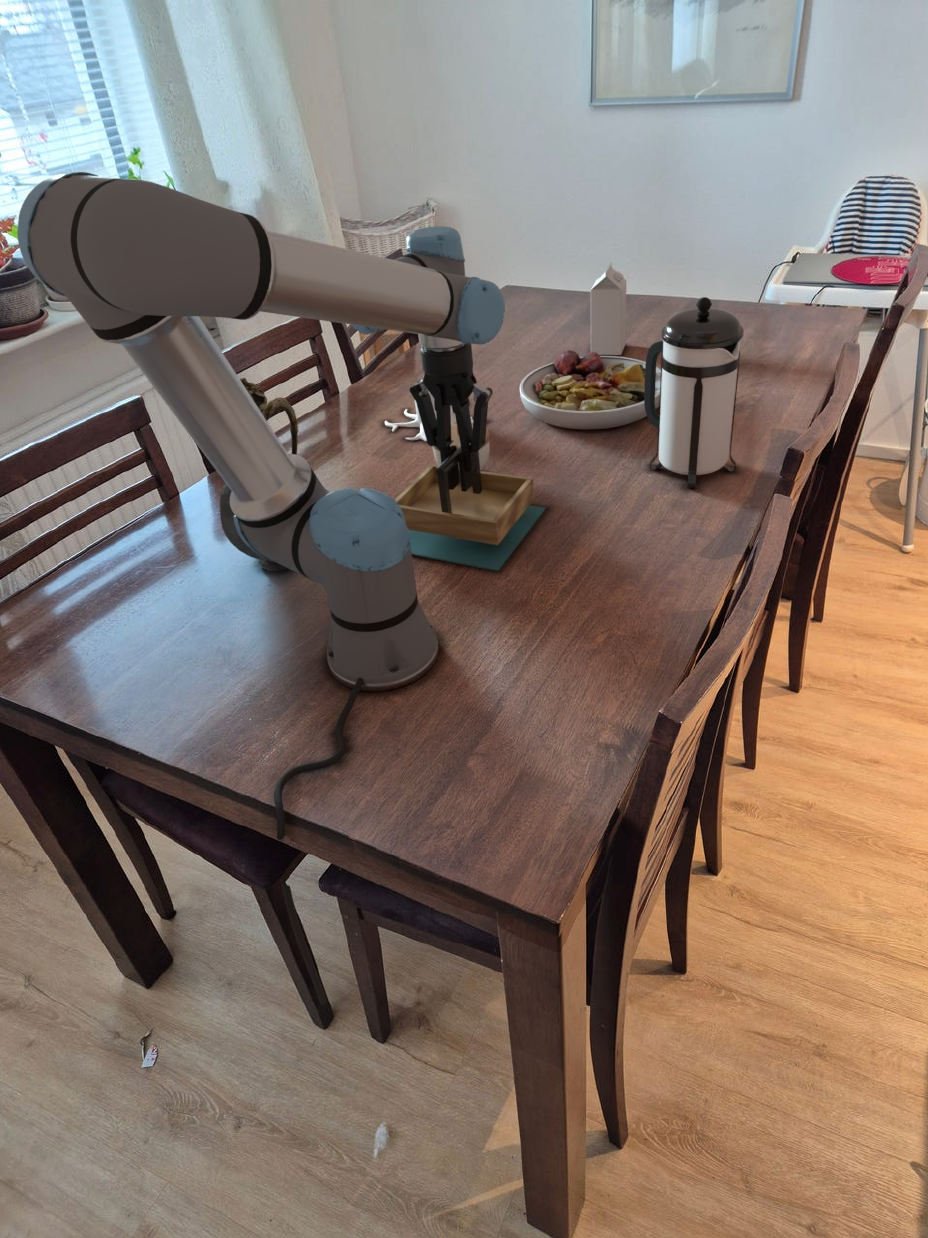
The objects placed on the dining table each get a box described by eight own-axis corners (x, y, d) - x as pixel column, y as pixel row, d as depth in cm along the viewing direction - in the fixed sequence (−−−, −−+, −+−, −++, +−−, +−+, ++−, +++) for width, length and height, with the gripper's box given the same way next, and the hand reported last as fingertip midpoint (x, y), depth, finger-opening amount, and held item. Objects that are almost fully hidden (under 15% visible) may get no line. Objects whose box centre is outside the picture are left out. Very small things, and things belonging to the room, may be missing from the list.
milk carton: (590, 355, 202) (590, 271, 191) (595, 344, 207) (595, 262, 196) (620, 355, 200) (622, 271, 189) (625, 345, 205) (626, 261, 194)
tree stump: (468, 396, 189) (465, 360, 184) (494, 430, 174) (491, 392, 169) (379, 414, 186) (374, 377, 181) (397, 450, 171) (391, 411, 166)
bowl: (696, 413, 171) (698, 374, 167) (561, 449, 164) (560, 410, 159) (619, 367, 194) (620, 332, 190) (498, 397, 187) (495, 362, 182)
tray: (497, 545, 133) (492, 480, 126) (392, 526, 141) (381, 464, 134) (534, 499, 144) (531, 436, 137) (434, 484, 151) (426, 424, 145)
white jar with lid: (487, 487, 155) (483, 439, 149) (429, 486, 157) (423, 439, 152) (497, 460, 163) (493, 413, 158) (442, 459, 165) (436, 413, 160)
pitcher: (227, 579, 138) (173, 402, 120) (292, 520, 152) (251, 353, 134) (284, 590, 134) (236, 408, 116) (345, 529, 148) (310, 357, 130)
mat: (497, 571, 133) (497, 569, 133) (381, 549, 141) (381, 547, 141) (545, 509, 147) (545, 507, 147) (437, 492, 155) (436, 490, 155)
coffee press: (738, 450, 157) (756, 280, 139) (732, 492, 145) (751, 312, 128) (643, 445, 162) (648, 281, 145) (629, 485, 151) (634, 312, 133)
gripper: (501, 337, 125) (511, 481, 139) (413, 331, 131) (431, 470, 145) (479, 355, 120) (492, 504, 134) (389, 348, 126) (410, 491, 140)
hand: (460, 486), depth 139 cm, fingers closed on tray, 2 cm apart
